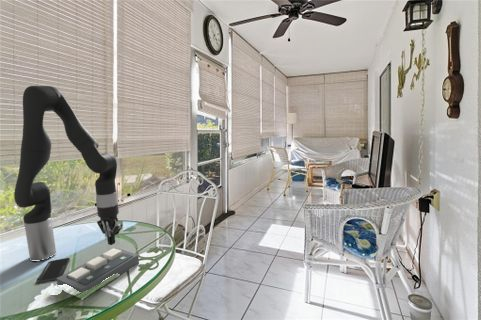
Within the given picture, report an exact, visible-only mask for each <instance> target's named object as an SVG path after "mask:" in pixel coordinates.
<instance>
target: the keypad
mask: <svg viewBox="0 0 481 320" xmlns="http://www.w3.org/2000/svg"><path fill="white" fill-rule="evenodd" d="M114 248H115V249H118V250H121V251H122V255H121V256H119V257H118V258H116V259H114V260H112V261H110V260H107V264H105V265H104V266H102V267H100V268H98V269H97V270H92V269H90V268H87V264H86V263H87V262H84V263H83V264H80V266H77V267H76V268H73V269H72V270H70V271H68V272H65V273H64V274H63V275H62V276H60V277H58V278H57V280H56V284H57V286H58V285H63V284H67V285H69V286H71V287H73V288H74V289H76V290H77V291H79V292H83V291H86V290H89V289H91V288H92V287H94V286H96V285H98V284H100V283H101V282H102V281H103V280H105V279H106V278H108V277H110V276H112V275H113V274H116V273H118V274H120V276H119V277H121V276H122V275H123V274H125V273H127V272H128V271H130V270H131V269H133V268H134V267H136V266H138V265H139V264H140V260H139V258H140V257H139V254H137V253H135V252H131V251H127V250H124V249H121V248H118V247H114ZM103 254H104V253H102V254H100V255H98V256H99V257H102V258H103ZM81 267H82V268H84V269H87V270H90V274H88V275H86V276H84V277H83V278H81V279H79V280H77V281H74V280H72V279H70V278H68V274H70V273H72V272H74V271H76V270H77V269H79V268H81Z"/></svg>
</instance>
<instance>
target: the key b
mask: <svg viewBox="0 0 481 320" xmlns="http://www.w3.org/2000/svg"><path fill="white" fill-rule="evenodd" d="M99 256H100V255H98V256H96V257H94V258H93V259H91V260H89V261H86V262H85V263H86V264H87V268H90V269H92V270H97V269H98V268H100V267H102V266H104V265H105V264H107V259H105V258H102V257H99Z"/></svg>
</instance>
